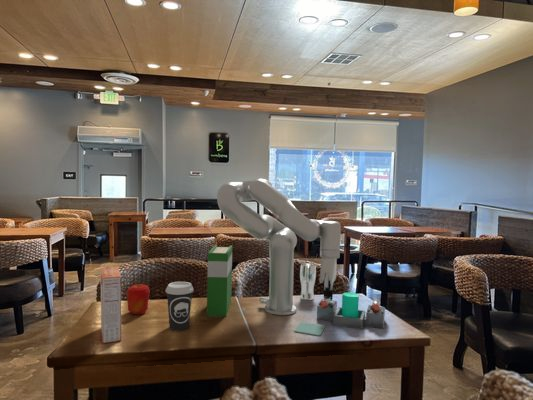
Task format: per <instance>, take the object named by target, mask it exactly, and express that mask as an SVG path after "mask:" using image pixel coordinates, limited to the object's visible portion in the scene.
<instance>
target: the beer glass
mask: <svg viewBox="0 0 533 400" xmlns="http://www.w3.org/2000/svg"><path fill="white" fill-rule="evenodd" d="M299 278H300V279H299V281H300V288H301V290H300V291H301V292H300V295H299V296H300V300H304V301H312V300H314V299H315V296H314V295H315V293H314V288H315V284H316V278H317V265H316V264H315V263H312V262H305V263H304V262H303V263H301V264H300V269H299Z"/></svg>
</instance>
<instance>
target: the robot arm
mask: <svg viewBox="0 0 533 400" xmlns="http://www.w3.org/2000/svg"><path fill="white" fill-rule="evenodd" d="M272 184H273V183H271V182H270V181H269V180H268V179H265V178H256V179H254V180H244V181H228V182H225V183H223V184H222V185H221V186H220V187H219V189H218V191H217V194H216V200H217V201H216V202H217V204H218V205H217V206H218V208H219V211H220V212H221V213H222V214H223V215H224V216H225V217H226V218H228V220H230V221H231V222H233V223H234V224H235V225H237V226H238V227H240V228H241V229H242V230H243V231H245V232H247V233H248V234H249V235H250V236H251V237H253V238H254V239H257V240H265V241H267V242H269V246H268V252H269V284H268V285H269V286H268V287H269V289H268V297H263V296H260V297H259V299H258V300H259V302H260V304H265V306H264V310H265V312H266V313H268V314H271V315H275V316H288V315H293V314H295V313H296V312H297V307H296V306H295V305H294V304H293V301H294V268H295V267H294V263H295V261H294V257H295V256H294V255H295V253H294V251H295V247H296V246H297V243H298V238H297V236H298V237H299V238H301V239H302V240H304V241H307V242H313V241H315V240H317V239H318V238H320V243H319V244H320V245H319V246H320V247H319V257H320V258H321V262H320V272H319V283H320V284H322V283H323V284H324V285H323V298H324V297H325V296H329V297H330V298H331V301H332V300H333V296H334V295H333V294H334V290H333V288H334V282H335V281H336V278H337V266H338V265H337V262H338V259H340V255H341V254H340V251H341V235H342V234H341V231H342V225H341V223H340V222H339V221H333V220H318V219H312V218H308V217H307V216H306V215H304V214H303V213H302V212H301V211H300V210H298V209H297V208H296V207H295V205H294V203H293V202H292V201H291V199H290V198H289V197H287V196H286V195H285V194H283V193H282V192H280V191H279V190H278V189H276V188H275V187H274V186H273V185H272ZM248 201H256V202H257V203H259V204H260V205H261V206H262V207H263V208H265V209H266V210H267V211H269V212H270V213H271V214H273V215H274V216H276V218H277V219H278V220H277V219H276V218H274V217H273V216H271V215H269V214H263V213H262V214H259V213H257V212H256V211H255V210H253V209H252V208H251V207H249V206H248V205H246V204H245V203H243V202H248Z"/></svg>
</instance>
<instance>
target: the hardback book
mask: <svg viewBox="0 0 533 400" xmlns="http://www.w3.org/2000/svg"><path fill="white" fill-rule="evenodd" d="M232 267H233V245H229V246H226V247H225V246H218V245H217V244H214V245H213V246H212V247H211V249H210V250H209V251H208V252H207V278H206V279H207V283H206V284H207V285H206V288H207V289H206V292H207V293H206V317H219V318H221V317H224V318H227V316H228V314H229V310H230V306H231V303H232V284H233V283H232V281H233V280H232V279H233V268H232Z"/></svg>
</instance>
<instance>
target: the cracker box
mask: <svg viewBox="0 0 533 400" xmlns="http://www.w3.org/2000/svg"><path fill="white" fill-rule="evenodd" d="M100 323H101V325H100V326H101V339H102V341H101V342H102V344H109V343H114V342H115V343H116V342H121V341H122V275H121V272H120V268H119V266H111V267H108V266H107V267H101V268H100Z"/></svg>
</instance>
